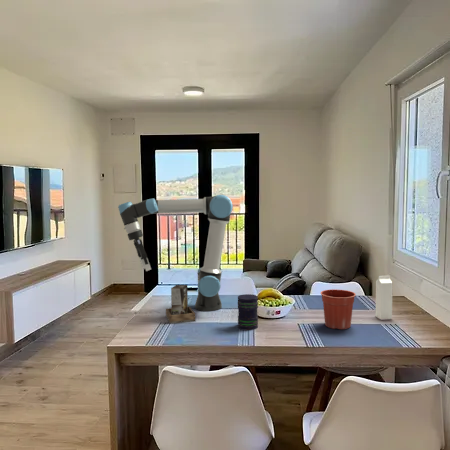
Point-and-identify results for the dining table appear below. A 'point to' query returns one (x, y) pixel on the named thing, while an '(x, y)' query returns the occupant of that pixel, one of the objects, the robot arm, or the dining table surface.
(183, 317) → the wooden tray
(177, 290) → the coffee box
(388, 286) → the milk
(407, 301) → the dining table surface
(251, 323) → the storage jar
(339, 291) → the flower pot
